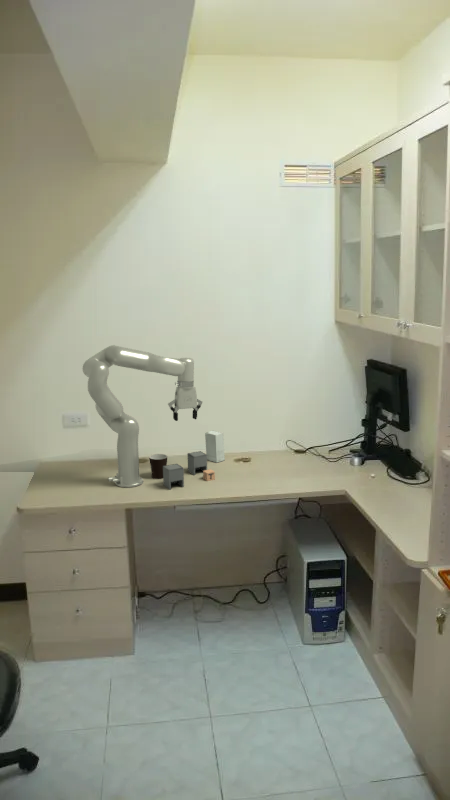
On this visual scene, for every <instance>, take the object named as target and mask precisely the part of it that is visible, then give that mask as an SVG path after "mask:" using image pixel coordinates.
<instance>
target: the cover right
mask: <svg viewBox="0 0 450 800" xmlns="http://www.w3.org/2000/svg"><path fill="white" fill-rule="evenodd" d="M197 470H201V471H202V472H203V471H204V470H208V460H207V455H206V452H205V453H204V452H203V451H200V450H199V451H193V452H187V472H189V473H190V474H191V475H193V476H195V475H196V471H197Z"/></svg>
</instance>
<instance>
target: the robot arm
mask: <svg viewBox="0 0 450 800" xmlns="http://www.w3.org/2000/svg"><path fill="white" fill-rule="evenodd" d="M113 365H114V366H117V367H121V368H127V369H132V370H133V369H134V370H137V371H143V372H149V373H156V374H160V375H161V374H163V375H166V376H171V377H177V380H176V381H175V382H174V385H175V386H176V388H175V393H174V399H173V400H171V401H170V402H168V403H167V405H168V407H169V409H170V410H171V412H173V413H172V416H173V420H174V421H176V422H177V421H178V420H179V413H178V412H179V410H183V409H184V410H185V409H193V410H192V419H194V420H197V418H198V411H199V409H201V406H202V404H203V401H202V400H201V399H199V398H198V397H197V389H196V387H195V386H194V383H195V382H194V381H195V379H194V378H195V377H194V375H195V371H194V370H195V361H194V359H193V358H191V357H179V358H177V357H176V358H175V357H164V356H161V355H156V354H154V353H151V352H147V351H143V350H138V349H132V348H128V347H123V346H119V345H115V344H113V345H109V346H107V347H105V348H104V349H102V350H100V351H99V352H97V353H95V354H94V355H92V356H90V357H89V358H88V359H87V360H85V361H84V362H83V364H82V372H83V374H84V376H86V377H87V379H88V380H87V391H88V395H89V397H91V399H92V400H93V402H94V404H95V410H96V412H97V414H98V415H99V416H100V417H101V418H102V420H103V422H105V424H106V425H107V427H109V428H110V429H111V431H114V432H115V433H116V434H117V440H116V452H117V470H118V471H117V473H116V475H114V476H110V477H107V481H108V482H110V483H111V482H112V483H115V486H118V487H121V488H134V487H138V486H140V485H142V484H144V479H143V477H140V457H139V435H140V425H139V422H138V421H137V419H135V418H134V417H133V416H131V415H129V414H127V413H125V412H124V406H123V404H122V402H121V401H120V400H119V399H118V398H117V396H116V395H115V394H114V393H113V391H112V390H111V388H109V386H108V377H109V374H110V369H109V368H111V366H113ZM173 405H174V407H173ZM178 422H179V421H178Z"/></svg>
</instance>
